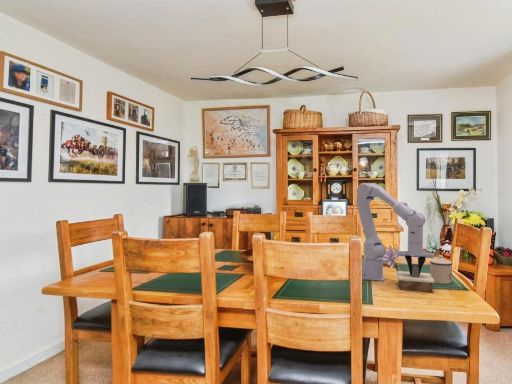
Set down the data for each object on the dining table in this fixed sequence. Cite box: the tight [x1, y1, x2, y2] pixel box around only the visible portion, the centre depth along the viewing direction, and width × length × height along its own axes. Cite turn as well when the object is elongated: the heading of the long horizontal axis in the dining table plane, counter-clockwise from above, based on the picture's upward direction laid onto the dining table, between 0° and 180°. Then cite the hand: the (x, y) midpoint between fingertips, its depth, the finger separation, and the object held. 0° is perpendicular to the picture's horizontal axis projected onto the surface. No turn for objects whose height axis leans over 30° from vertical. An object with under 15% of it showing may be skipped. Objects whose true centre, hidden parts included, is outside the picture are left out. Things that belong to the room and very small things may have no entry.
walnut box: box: [397, 277, 434, 293], centre depth 151 cm, size 12×12×4 cm
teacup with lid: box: [429, 254, 453, 285], centre depth 162 cm, size 12×9×12 cm
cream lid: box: [396, 263, 436, 284], centre depth 151 cm, size 13×13×6 cm
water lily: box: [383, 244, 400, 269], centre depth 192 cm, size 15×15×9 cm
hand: (414, 274), depth 151 cm, fingers open, 2 cm apart
